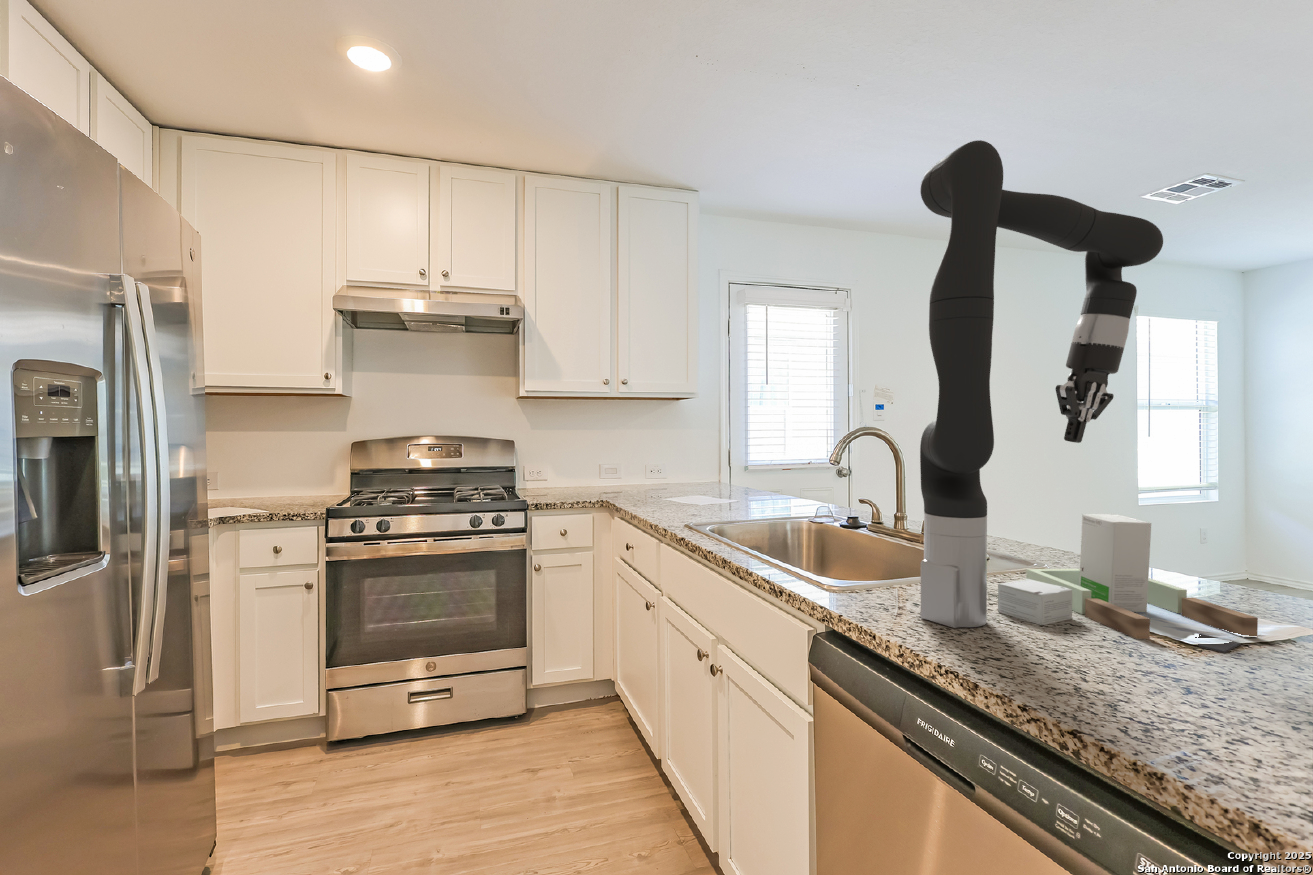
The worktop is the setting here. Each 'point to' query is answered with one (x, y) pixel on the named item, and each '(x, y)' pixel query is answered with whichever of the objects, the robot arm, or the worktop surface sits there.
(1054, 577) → the corral
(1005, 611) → the small box
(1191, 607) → the channel
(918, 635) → the worktop surface
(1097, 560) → the skincare box
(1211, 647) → the pit mat
